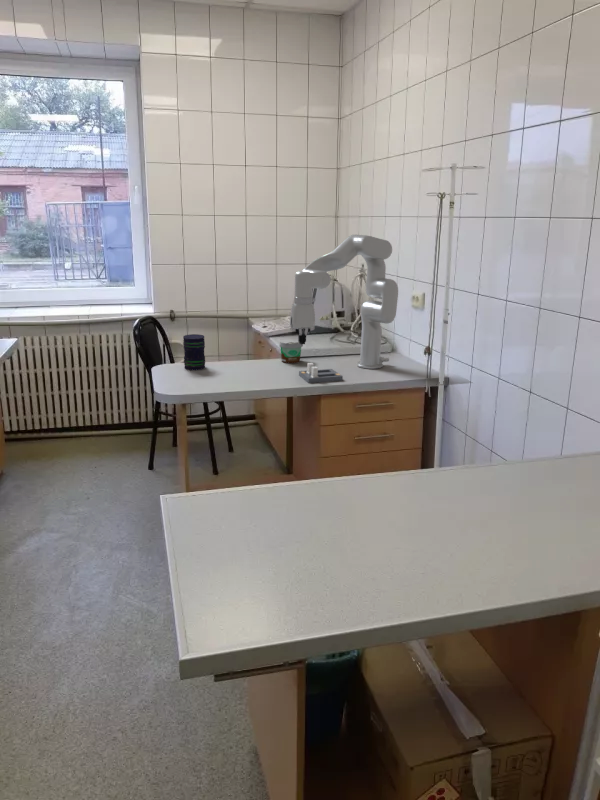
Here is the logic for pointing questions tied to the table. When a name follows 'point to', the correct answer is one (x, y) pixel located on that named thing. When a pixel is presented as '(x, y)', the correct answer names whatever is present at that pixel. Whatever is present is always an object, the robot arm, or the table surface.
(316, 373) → the tab
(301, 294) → the robot arm
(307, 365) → the tab
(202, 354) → the storage jar
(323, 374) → the switch bank
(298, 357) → the food container
